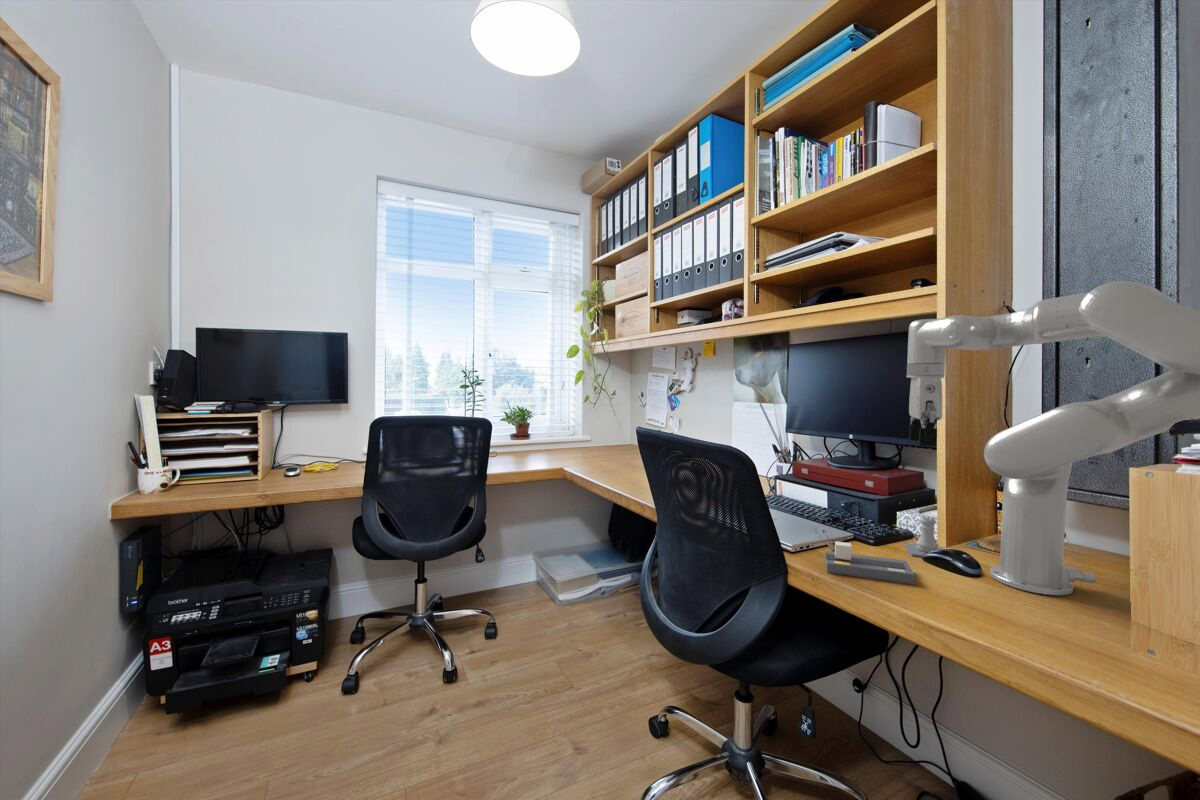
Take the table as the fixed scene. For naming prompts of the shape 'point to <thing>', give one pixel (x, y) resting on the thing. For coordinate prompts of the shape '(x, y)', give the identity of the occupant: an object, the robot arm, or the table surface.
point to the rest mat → (915, 549)
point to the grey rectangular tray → (870, 567)
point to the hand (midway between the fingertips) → (921, 442)
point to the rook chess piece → (927, 535)
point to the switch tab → (843, 550)
